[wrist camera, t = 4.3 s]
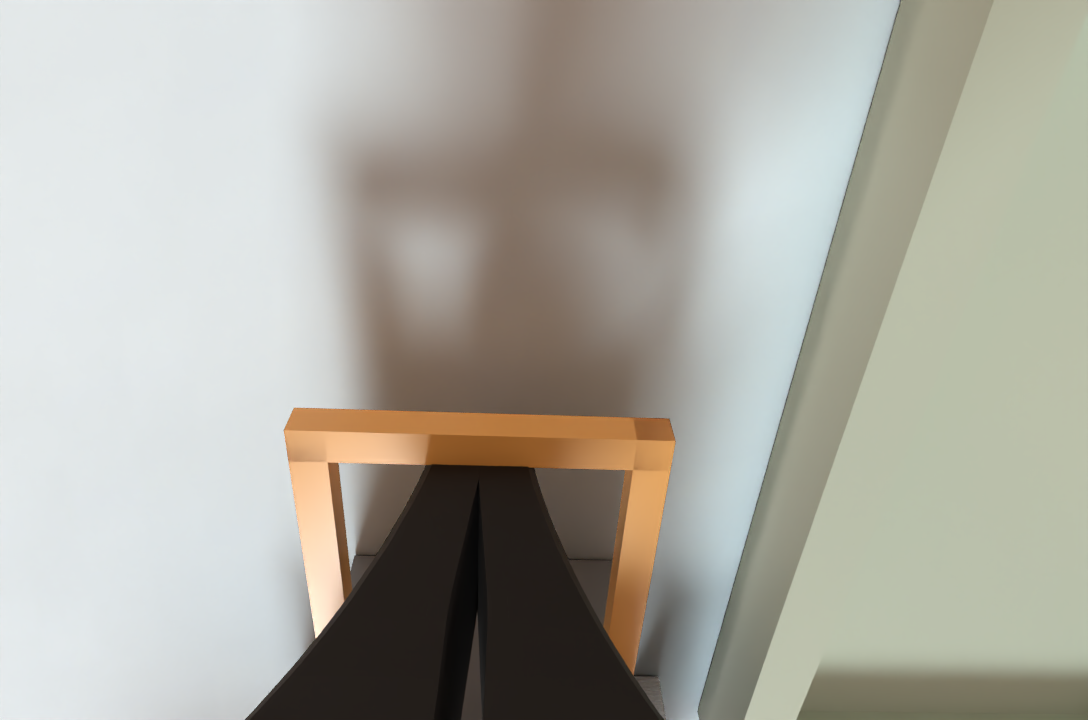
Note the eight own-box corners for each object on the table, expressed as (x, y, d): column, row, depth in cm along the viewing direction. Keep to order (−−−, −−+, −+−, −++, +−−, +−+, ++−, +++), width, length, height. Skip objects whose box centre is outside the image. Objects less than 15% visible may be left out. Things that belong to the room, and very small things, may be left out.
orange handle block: (645, 336, 12) (713, 572, 8) (584, 768, 18) (604, 1031, 14) (331, 326, 12) (223, 563, 8) (376, 767, 18) (332, 1034, 14)
